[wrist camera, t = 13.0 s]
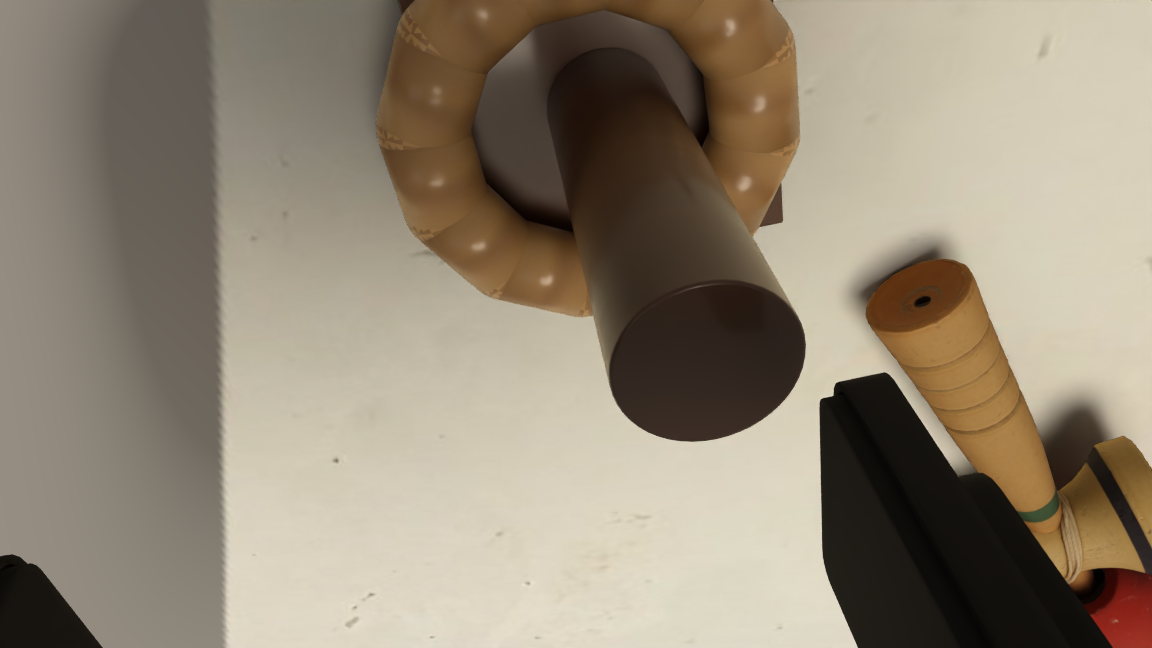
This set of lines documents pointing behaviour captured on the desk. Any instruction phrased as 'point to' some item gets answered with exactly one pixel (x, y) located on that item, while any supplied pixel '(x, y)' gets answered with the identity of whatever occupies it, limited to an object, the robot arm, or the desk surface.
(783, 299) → the brown peg stand
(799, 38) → the desk surface
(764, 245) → the desk surface
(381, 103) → the ring
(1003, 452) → the kendama
